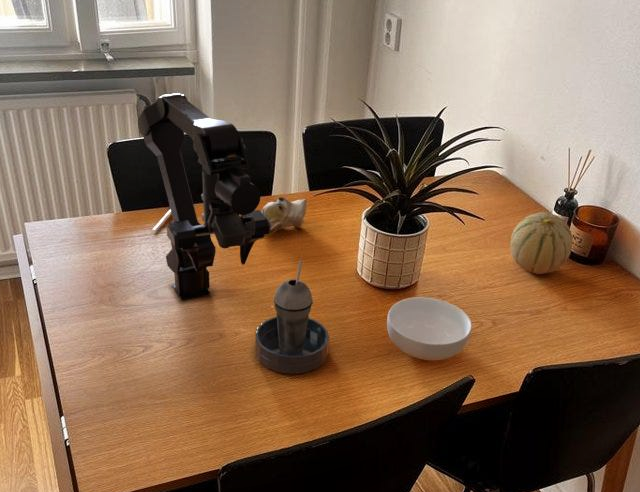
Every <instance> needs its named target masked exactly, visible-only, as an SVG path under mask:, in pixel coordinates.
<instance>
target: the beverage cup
mask: <svg viewBox="0 0 640 492" xmlns="http://www.w3.org/2000/svg"><path fill="white" fill-rule="evenodd" d="M302 264H303V259H302V258H301V259H299V262H298V268H297V274H296V279H288V280H287V279H286V280H285V281H284V282H282V283H281V284H280V285H279V286H278V287H277V288H276V291H275V293H274V298H273V303H274V308H275V313H276V317H277V327H278V341H279V348H280V353H281V354H283V355H289V356H295V355H301V354H302V352H303V347H304V342H305V336H306V329H307V323H308V318H310V317H309V316H310V313H311V310H312V306H313V302H314V301H313V300H314V299H313V295H312V292H311V290H310V288H309V286H308V285H307V284H306V283H305V282H303V281H302V280H300V277H301V271H302Z"/></svg>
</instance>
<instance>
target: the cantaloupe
mask: <svg viewBox="0 0 640 492" xmlns="http://www.w3.org/2000/svg"><path fill="white" fill-rule="evenodd" d="M509 243H510V253H511V256H512V259H513V260H514V262H515V263H516V264H517V266H519V267H520V268H522V269H523V270H524V271H526V272H529V273H532V274H535V275H543V274H549V273H552V272H555V271H557V270H558V269H560V268H561V267H562V266H564V264H565V263H566V262H567V261H568V259H569V257H570V255H571V252H572V249H573V234H572V230H571V228H570V226H569V224H568V223H566V221H565V220H564V219H563V218H562V217H560V216H559V215H557V214H554V213H550V212H544V211H542V212H541V211H540V212H535V213H532V214H529V215H527V216H526V217H524V218H523V219H522V220H521V221H520V222H519V223H517V225H516V226H515V227H514V229H513V231H512V234H511V237H510V241H509Z"/></svg>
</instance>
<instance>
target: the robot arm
mask: <svg viewBox="0 0 640 492" xmlns="http://www.w3.org/2000/svg"><path fill="white" fill-rule="evenodd" d="M137 127H138V130H139V133H140V135H141V136H142V137H143V140H144V144H145V145H146V147H147V148H148V149H149V150H150V151H151V152H152V153H153V154H154V155H155V156H156V158H157V162H158V165H159V169H160V173H161V177H162V181H163V185H164V189H165V192H166V197H167V201H168V205H169V210H170V209H171V213H172V214H171V216H172V220H173V221H170V222H169V223H168V225H167V226H166V236H167V238H168V240H169V241H170V245H171V249H170V251H169V252H168V253H167V254H166V256H165V260H166V265H167V268H169V269H170V270H171V271H172V272H173V274H174V283H173V284H172V288H173V289H174V291H175V292H176V295H177V296H178V298H179V299H180V300H181V301H185V300H186V301H187V300H191V299H197V298H200V297H201V298H202V297H206V296H210V295H211V291H210V290H209V289H210V286H211V285H210V271H209V270H208V268H209V267H214V261H215V257H216V253H217V252H216V251H217V250H216V246H215V244H214V242H213V240H212V236H211V235H214V236H215V238H216V241H217V243H218V246H219V247H220V248H221V249H228V248H231V247H239V258H240V259H239V260H240V263H241V265H242V266H244V265H246V262H247V261H248V257H249V255H250V253H251V250H252V248H253V246H254V244H255V242H257V241H259V240H260V239H264V237H265V236H266V235H271V234H270V233H271V224H270V221H269V220H268V219H267V217H266V216H265V215H264V214H263V213H262V212H261V210H260V209H257V208H258V206H259V204H260V203H261V198H262V197H261V193H260V190H259V188H258V187H257V186H256V185H255V184H254V183H252V182H251V176H250V175H248V174H247V173H244V172H243V170H245V169H249V168H250V167H251V166H250V162H249V158H250V156H249V153H248V150H247V148H246V147H245V143H244V141H243V138H242V136H241V133H240V131H239V130H238V129H237V128H236V126H235V125H234V124H233V123H230V122H228V121H226V120H224V119H214V118H211V117H209V116H208V115H206V114H205V113H204V111H202V110H200V108H198V107H197V106H195V105H194V104H193V103H192V102H190V101H189V100H188V99H187V96H186V95H185V94H181V93H172V94H163V95H161V96H158V97H157V98H156V101H155V102H154V103H152V104H150V105H149V106H147V107H146V108H144V109H143V110H142V111H141V113H140V115H139V117H138V120H137ZM185 134H186V135H187V136H188V137H189V138H190V139H191V140H192V143H193V147H192V149H193V150H194V152H195V153H196V155H197V157H198V159H197V162H198V163H199V164H200V165H202V166H201V175H202V179H201V180H202V193H201V195H200V197H201V200H202V205H203V207H202V208H203V213H202V214H201V218H202V219H201V220H202V221H203V224H201V223H200V222H199V220H198V217H197V212H196V208H195V205H194V201H193V197H192V192H191V189H190V185H189V181H188V177H187V173H186V169H185V164H184V160H183V157H182V152H181V151H182V146H183V143H184V140H185V137H186V136H185ZM231 157H237V158H232V159H228V158H231ZM226 158H227V160H225V159H226Z"/></svg>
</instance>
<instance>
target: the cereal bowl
mask: <svg viewBox="0 0 640 492" xmlns="http://www.w3.org/2000/svg"><path fill="white" fill-rule="evenodd" d="M472 327H473V326H472V321H471V318H470V317H469V316H468V314H467V313H466V312H465V311H464V310H462V309H461V308H460V307H458V306H456V305H455V304H453V303H451V302H448V301H445V300H442V299H438V298H434V297H427V296H426V297H425V296H415V297H407V298H404V299H401V300H399V301H397V302H396V303H394V304H393V305H392V306H391V307H390V309H389V311H388V312H387V319H386V330H387V333H388V337H389V339H390V340H391V342H392V343H393V345H395V346H396V348H397V349H398V350H400V351H401V352H402V353H404V354H406V355H408V356H410V357H413V358H416V359H418V360H425V361H443V360H447V359H450V358H452V357H454V356H456V355H458V354H459V353H461V352H462V350H464V348H465V347H466V346H467V344H468V342H469V340H470V336H471V334H472V330H473V329H472Z"/></svg>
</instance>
